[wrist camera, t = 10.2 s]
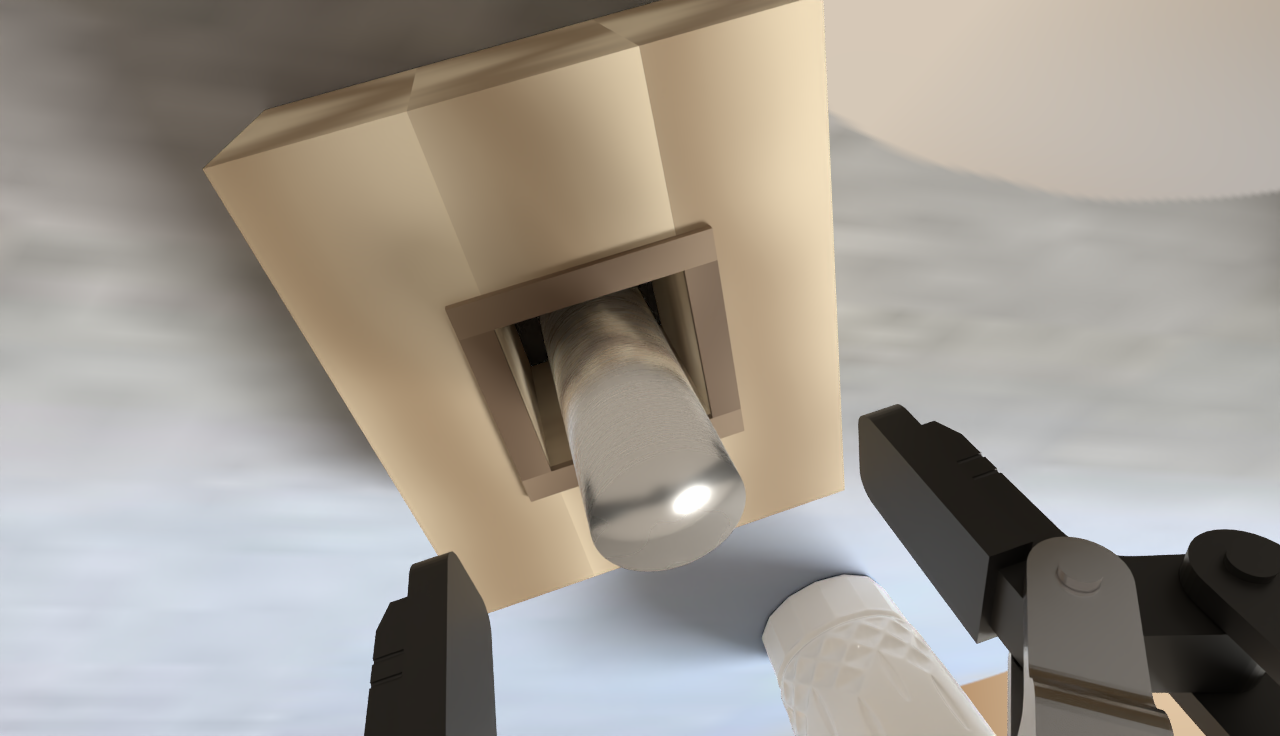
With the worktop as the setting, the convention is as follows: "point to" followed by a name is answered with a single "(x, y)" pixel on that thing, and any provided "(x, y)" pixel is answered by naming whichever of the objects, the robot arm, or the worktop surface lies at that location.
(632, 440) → the steel pin
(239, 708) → the worktop surface
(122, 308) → the worktop surface
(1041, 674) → the robot arm
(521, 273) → the wooden peg hole block
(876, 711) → the white cup
